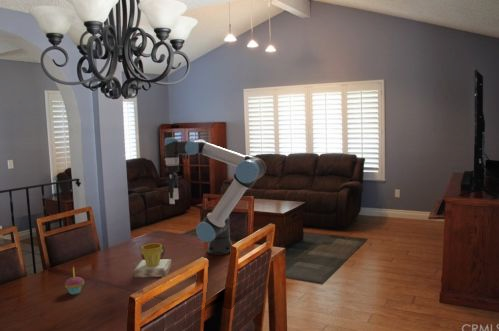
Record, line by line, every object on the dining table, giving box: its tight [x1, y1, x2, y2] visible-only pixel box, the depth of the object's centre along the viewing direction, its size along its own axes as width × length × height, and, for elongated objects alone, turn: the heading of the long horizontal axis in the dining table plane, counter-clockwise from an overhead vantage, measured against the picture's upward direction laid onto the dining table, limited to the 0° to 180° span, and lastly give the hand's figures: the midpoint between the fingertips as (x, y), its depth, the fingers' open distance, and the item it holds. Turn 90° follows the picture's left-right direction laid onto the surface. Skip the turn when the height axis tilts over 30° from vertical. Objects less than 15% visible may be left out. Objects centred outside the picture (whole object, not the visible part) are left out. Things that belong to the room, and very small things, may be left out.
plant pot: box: [141, 243, 162, 266], centre depth 225 cm, size 10×10×10 cm
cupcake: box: [64, 265, 85, 295], centre depth 202 cm, size 9×8×12 cm
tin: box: [141, 244, 166, 260], centre depth 244 cm, size 15×3×8 cm, turn 143°
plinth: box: [133, 258, 172, 278], centre depth 227 cm, size 16×16×4 cm
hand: (174, 201), depth 249 cm, fingers open, 13 cm apart
